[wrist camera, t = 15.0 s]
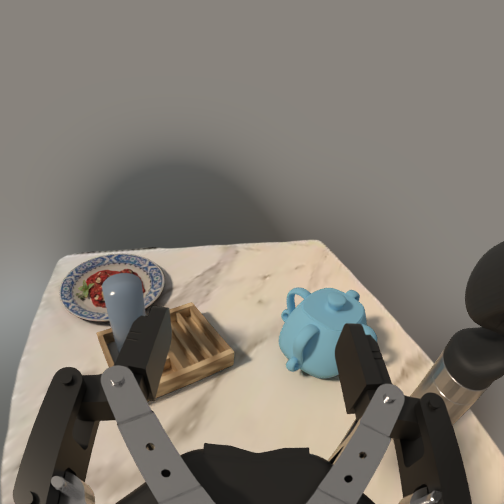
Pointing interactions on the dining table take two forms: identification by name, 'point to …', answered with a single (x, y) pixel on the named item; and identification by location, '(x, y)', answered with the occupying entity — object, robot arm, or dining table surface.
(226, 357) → the wooden compartment tray
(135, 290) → the pale blue cylinder
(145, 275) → the ceramic plate
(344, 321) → the decorative pot
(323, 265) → the dining table surface
